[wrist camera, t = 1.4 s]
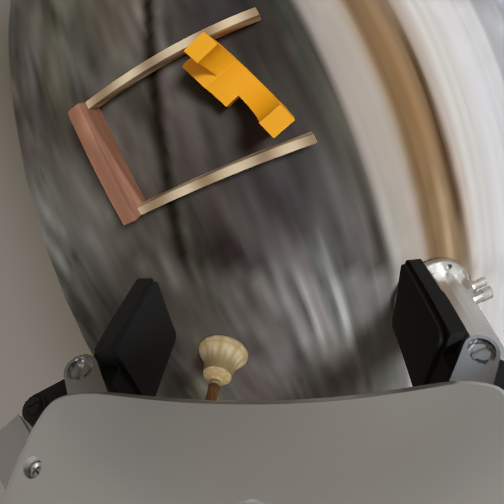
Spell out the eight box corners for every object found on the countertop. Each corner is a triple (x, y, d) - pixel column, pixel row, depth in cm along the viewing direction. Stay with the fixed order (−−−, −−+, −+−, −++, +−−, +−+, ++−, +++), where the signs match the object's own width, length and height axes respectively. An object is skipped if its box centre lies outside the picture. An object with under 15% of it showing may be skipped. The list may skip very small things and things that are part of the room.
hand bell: (189, 341, 49) (159, 421, 35) (233, 329, 46) (212, 416, 33) (214, 372, 52) (194, 449, 38) (256, 363, 50) (244, 446, 36)
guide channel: (257, 13, 26) (253, 3, 22) (315, 139, 32) (318, 144, 29) (85, 109, 33) (67, 112, 29) (137, 213, 39) (124, 225, 35)
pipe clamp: (190, 68, 30) (170, 64, 24) (218, 42, 28) (203, 31, 23) (264, 141, 33) (259, 150, 28) (293, 116, 32) (294, 120, 26)
